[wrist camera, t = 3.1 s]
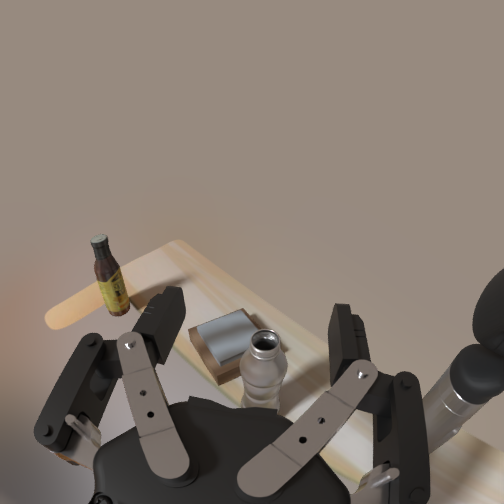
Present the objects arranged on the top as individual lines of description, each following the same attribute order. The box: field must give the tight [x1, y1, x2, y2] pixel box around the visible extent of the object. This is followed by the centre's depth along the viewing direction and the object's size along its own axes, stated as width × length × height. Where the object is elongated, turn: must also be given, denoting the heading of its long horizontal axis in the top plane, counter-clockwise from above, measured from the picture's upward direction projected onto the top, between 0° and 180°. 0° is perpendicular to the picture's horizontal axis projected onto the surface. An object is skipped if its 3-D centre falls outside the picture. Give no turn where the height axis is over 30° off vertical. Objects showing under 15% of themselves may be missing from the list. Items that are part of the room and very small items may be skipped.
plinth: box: [188, 308, 261, 386], centre depth 53 cm, size 13×13×5 cm
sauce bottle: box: [91, 234, 130, 316], centre depth 58 cm, size 6×6×20 cm
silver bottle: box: [240, 329, 288, 414], centre depth 37 cm, size 6×7×20 cm
